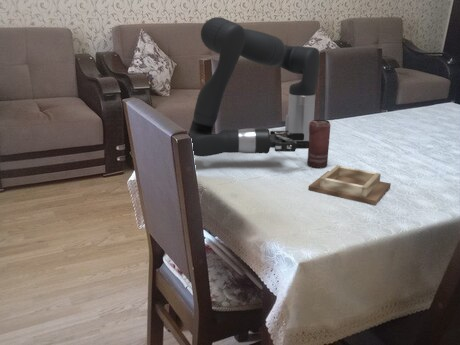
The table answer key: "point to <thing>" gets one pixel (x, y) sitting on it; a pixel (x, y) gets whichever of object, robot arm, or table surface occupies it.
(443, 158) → the table surface
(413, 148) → the table surface
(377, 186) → the tray
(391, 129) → the table surface
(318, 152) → the can
